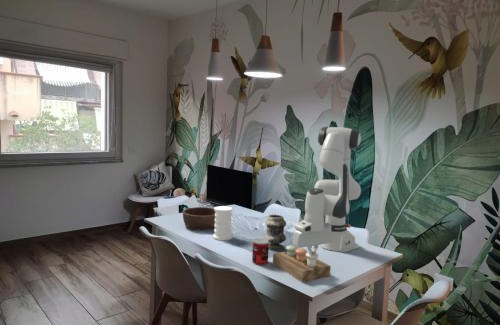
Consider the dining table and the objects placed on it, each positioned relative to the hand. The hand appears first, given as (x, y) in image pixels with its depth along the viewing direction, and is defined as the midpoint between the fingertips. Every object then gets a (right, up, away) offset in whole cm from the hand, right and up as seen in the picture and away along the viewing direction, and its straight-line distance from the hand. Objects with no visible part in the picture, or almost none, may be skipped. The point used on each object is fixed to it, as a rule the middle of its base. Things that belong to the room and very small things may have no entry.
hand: (312, 254), depth 164 cm
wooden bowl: (-61, -1, +75) cm, 96 cm away
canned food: (-23, -8, +16) cm, 29 cm away
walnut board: (-4, -9, +8) cm, 13 cm away
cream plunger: (0, -7, +1) cm, 8 cm away
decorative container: (-45, -4, +53) cm, 69 cm away
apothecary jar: (-14, -6, +39) cm, 42 cm away
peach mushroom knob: (-4, -7, +8) cm, 12 cm away
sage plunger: (-8, -8, +15) cm, 19 cm away
